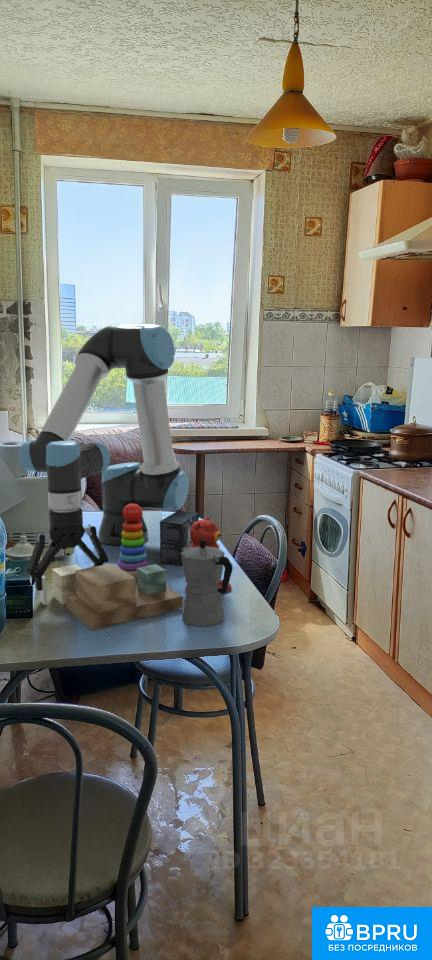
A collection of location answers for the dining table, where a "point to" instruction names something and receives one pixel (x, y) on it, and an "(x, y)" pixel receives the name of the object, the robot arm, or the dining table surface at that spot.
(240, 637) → the dining table surface
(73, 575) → the oak block
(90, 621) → the base
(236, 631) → the dining table surface
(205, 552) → the coffeepot
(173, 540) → the small box
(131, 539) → the stacking toy
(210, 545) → the stacking bear
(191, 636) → the dining table surface
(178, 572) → the dining table surface
